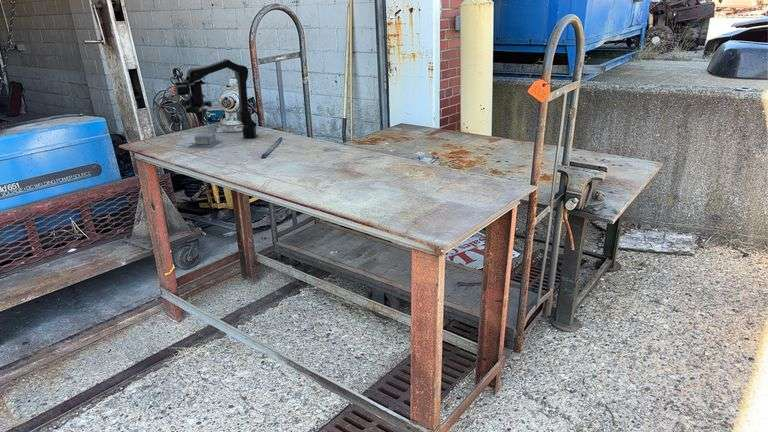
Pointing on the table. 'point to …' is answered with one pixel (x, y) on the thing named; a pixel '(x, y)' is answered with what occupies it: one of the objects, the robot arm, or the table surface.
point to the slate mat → (205, 145)
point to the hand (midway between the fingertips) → (201, 123)
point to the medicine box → (205, 138)
